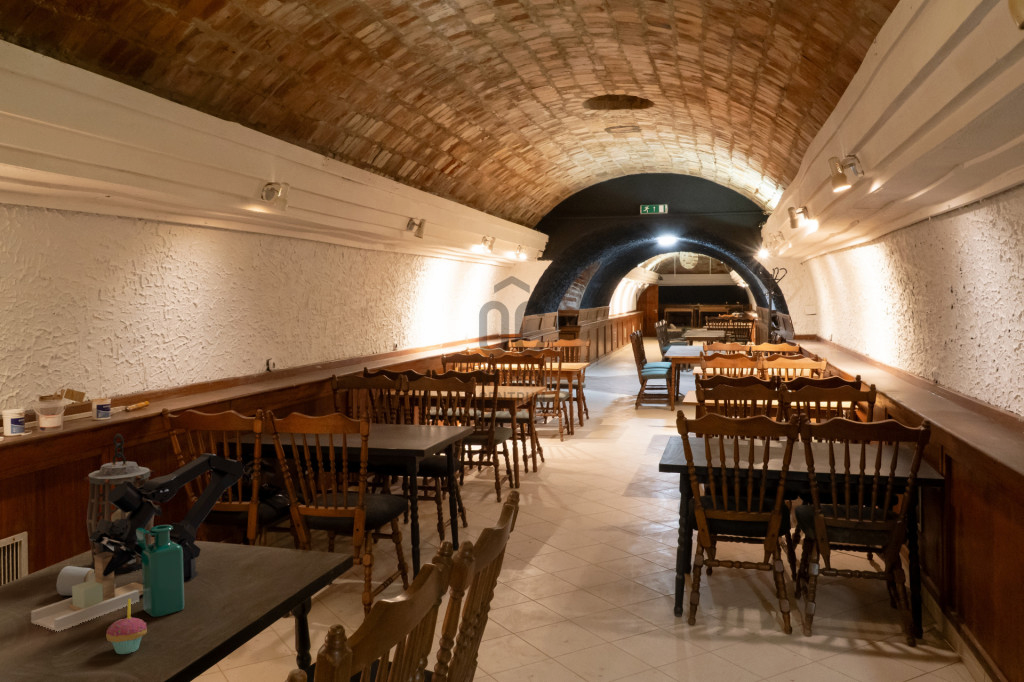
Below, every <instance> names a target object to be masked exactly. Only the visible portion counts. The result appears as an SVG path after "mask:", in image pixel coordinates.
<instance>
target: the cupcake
mask: <svg viewBox="0 0 1024 682" xmlns="http://www.w3.org/2000/svg"><path fill="white" fill-rule="evenodd" d="M131 607H132V605H131V599H130V595H129V599H128V606H127V612H126V613H127V615H126V617H125V618H122V619H121V618H120V619H118V620H116V621H114V622H113V623H112V624H111V625H110V626H109V627H108V628H107V629H106V631H105V632H106V634H105V637H106V640H107V642H110V643H111V644H112V646H113V648H114V651H115V653H116V654H119V655H128V654H131V652H132V653H134V652H136V651H138V649H139V648H140V644H141V640H142V638H143V636H145V635H146V634H147V631H148V628H147V622H145V621H144V620H143V619H141V618H137V617H133V616H131V614H132V613H131V609H132V608H131Z"/></svg>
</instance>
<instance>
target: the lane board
mask: <svg viewBox="0 0 1024 682" xmlns="http://www.w3.org/2000/svg"><path fill="white" fill-rule="evenodd" d="M114 586H115V589H116V588H117V584H116V583H114ZM129 595H130V599H131V604H132V605H134V603H135V604H137V603H136V602H138V603H139V602H140V595H139V591H138V590H135V591H132V592H129V593H126V594H123V595H120V596H118V597H115V598H112V599H109V600H106V601H104V602H101V603H98V604H95V605H92V606H89V607H87V608H84V609H81V610H78V611H75V610H72V609H69V605H70V604H73V599H72V597H70V598H66V599H63V600H60V601H58V602H53V603H51V604H48V605H45V606H43V607H38V608H37V609H33V610H31V611H30V614H31V615H30V618H31V620H30V621H31V624H33V623H34V624H33V625H36V624H37V625H36V626H38V625H40V626H39V627H41V626H43V627H42V628H44V627H46V628H45V629H47V628H49V629H48V630H50V629H51V631H53V630H55V631H54V632H56V631H57V632H56V633H59V632H62V631H64V629H65V630H67V629H70V628H73V627H75V626H78V625H81V624H83V623H82V622H84V623H86V622H88V620H89V621H91V619H92V620H94V619H96V617H97V618H100V617H102V616H105V615H108V614H111V613H113V612H116V611H118V609H119V610H121V609H123V607H124V608H126V606H127V607H128V599H129ZM110 612H111V613H110ZM104 614H105V615H104ZM99 616H100V617H99ZM93 618H94V619H93ZM85 621H86V622H85ZM80 623H81V624H80ZM72 626H73V627H72ZM61 630H62V631H61ZM58 631H59V632H58Z"/></svg>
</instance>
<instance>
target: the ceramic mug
mask: <svg viewBox="0 0 1024 682" xmlns="http://www.w3.org/2000/svg"><path fill="white" fill-rule="evenodd" d="M90 580H91V581H95V573H94V569H92V567H91V568H90V567H80V566H73V565H67V566H64V567H63V568H62V569H61V570H60V572H59V573H58V576H57V579H56V591H57V593H58V594H59V596H68V597H69V596H72V586H75V585H78V584H81V583H84V582H87V581H90Z"/></svg>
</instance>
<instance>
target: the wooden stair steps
mask: <svg viewBox="0 0 1024 682" xmlns="http://www.w3.org/2000/svg"><path fill="white" fill-rule="evenodd" d="M113 555H114V554H113V553H109V552H103V553H100V554H97V555H94V558H95V582H98V583H102V585H103V602H104V601H106V600H109V599H112V598H115V597H118V596H120V595H123V594H126V593H129V592H132V591H135V590H138V591H139V596H141V595H142V596H143V583H138V582H131V583H129V584H125V585H122V586H119V587H116V589H115V586H114V584H115V575H114V571H113V572H112V573H110V574H109V575H107V576H104V575H103V572H104V570H105V568H106V566H107V565H108V563H109V561H110V560H111V558H112V556H113ZM69 609H72V610H75V611H78V610H81V609H82V608H79V607H76V606H73V604H70V605H69Z"/></svg>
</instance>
